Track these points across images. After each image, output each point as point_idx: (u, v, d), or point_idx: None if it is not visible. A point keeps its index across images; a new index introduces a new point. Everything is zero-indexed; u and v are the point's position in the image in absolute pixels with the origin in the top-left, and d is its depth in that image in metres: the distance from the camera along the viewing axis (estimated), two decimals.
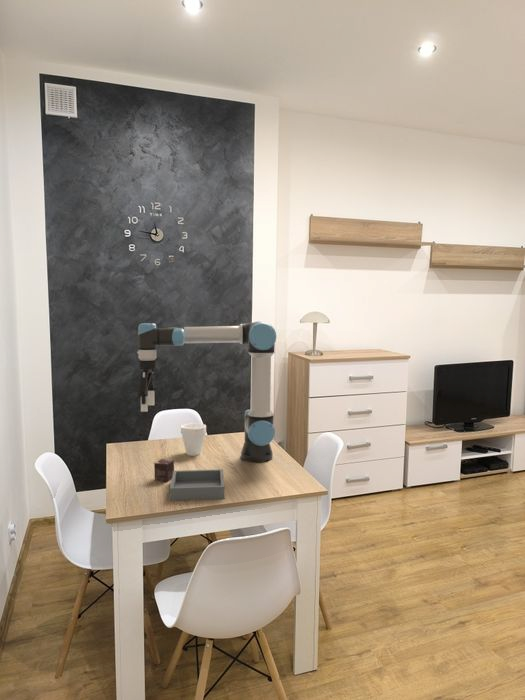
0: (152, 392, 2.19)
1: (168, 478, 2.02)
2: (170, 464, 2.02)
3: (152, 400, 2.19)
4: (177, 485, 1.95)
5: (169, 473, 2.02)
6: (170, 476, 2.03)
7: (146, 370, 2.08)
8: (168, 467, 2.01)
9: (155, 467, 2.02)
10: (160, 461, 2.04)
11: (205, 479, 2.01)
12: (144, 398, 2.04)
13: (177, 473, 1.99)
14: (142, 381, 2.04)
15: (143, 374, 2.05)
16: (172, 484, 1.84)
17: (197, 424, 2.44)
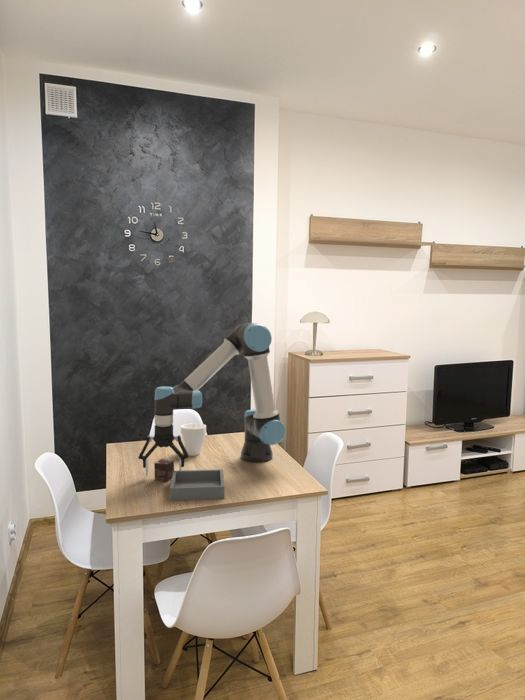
0: None
1: (168, 478, 2.02)
2: (170, 464, 2.02)
3: (179, 469, 2.04)
4: (177, 485, 1.95)
5: (169, 473, 2.02)
6: (170, 476, 2.03)
7: (154, 435, 2.02)
8: (168, 467, 2.01)
9: (155, 467, 2.02)
10: (160, 461, 2.04)
11: (205, 479, 2.01)
12: (143, 461, 2.02)
13: (177, 473, 1.99)
14: None
15: (147, 437, 2.02)
16: (172, 484, 1.84)
17: (197, 424, 2.44)
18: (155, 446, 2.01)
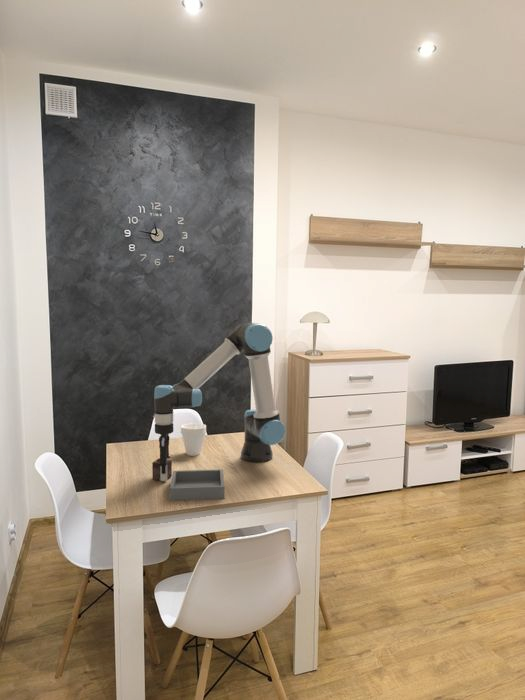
0: None
1: (167, 477, 2.02)
2: (168, 463, 2.03)
3: None
4: (177, 485, 1.95)
5: (167, 472, 2.02)
6: (168, 475, 2.03)
7: (164, 435, 1.99)
8: None
9: (153, 466, 2.02)
10: (158, 460, 2.04)
11: (205, 479, 2.01)
12: (164, 468, 1.98)
13: (177, 473, 1.99)
14: (161, 450, 1.96)
15: (162, 443, 1.96)
16: (172, 484, 1.84)
17: (197, 424, 2.44)
18: (168, 446, 2.01)
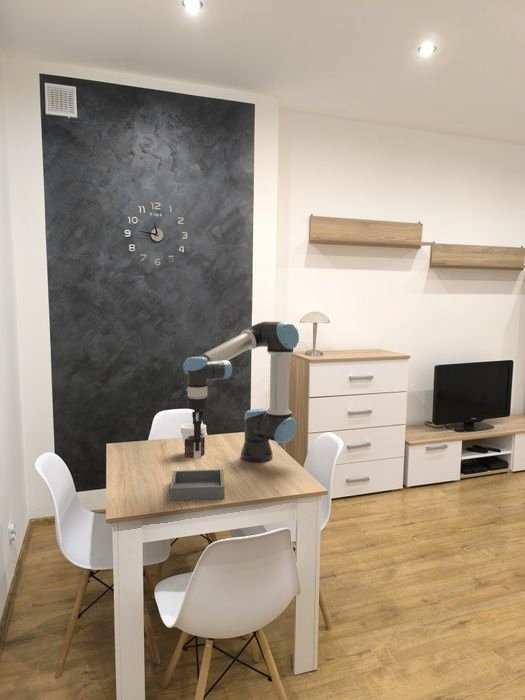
0: None
1: None
2: (201, 440, 1.89)
3: None
4: (177, 485, 1.95)
5: None
6: (201, 453, 1.89)
7: (198, 410, 1.86)
8: None
9: (185, 443, 1.88)
10: (190, 437, 1.90)
11: (205, 479, 2.01)
12: (198, 444, 1.85)
13: (177, 473, 1.99)
14: (195, 426, 1.83)
15: (196, 418, 1.83)
16: (172, 484, 1.84)
17: None
18: (201, 422, 1.87)
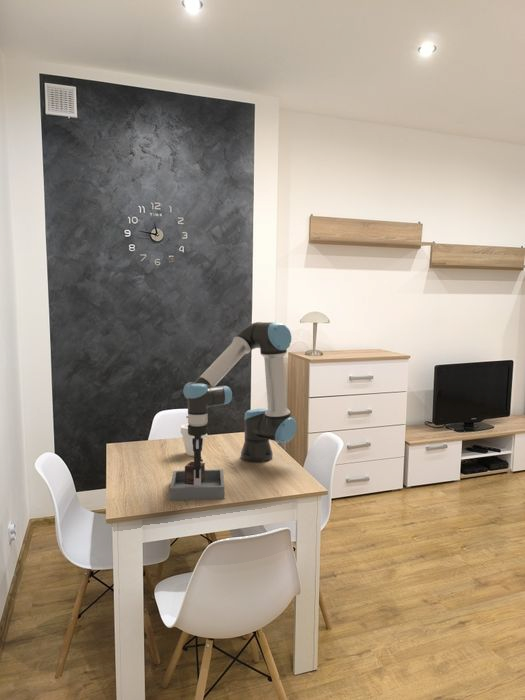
0: None
1: None
2: (201, 467, 1.90)
3: None
4: (177, 485, 1.95)
5: None
6: (201, 480, 1.90)
7: (198, 437, 1.86)
8: None
9: (186, 470, 1.89)
10: (191, 464, 1.91)
11: (205, 479, 2.01)
12: (198, 472, 1.86)
13: (177, 473, 1.99)
14: (196, 453, 1.84)
15: (196, 446, 1.84)
16: (172, 484, 1.84)
17: None
18: (201, 449, 1.88)
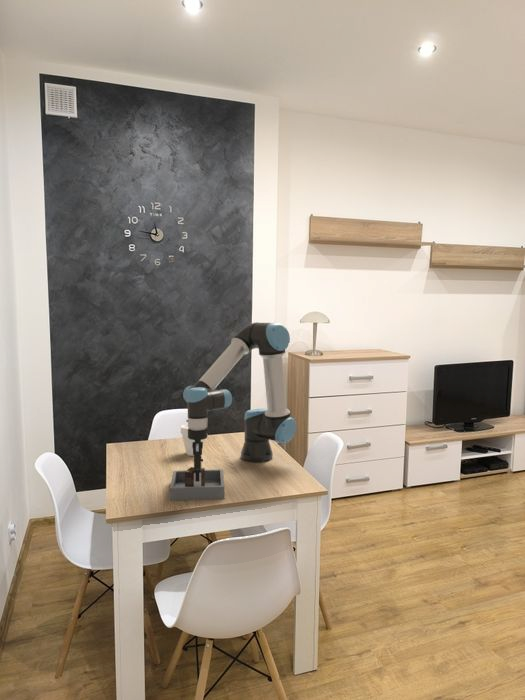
0: None
1: None
2: (201, 472, 1.90)
3: None
4: (177, 485, 1.95)
5: (201, 482, 1.90)
6: (201, 485, 1.91)
7: (198, 441, 1.86)
8: None
9: (186, 476, 1.89)
10: (191, 469, 1.92)
11: (205, 479, 2.01)
12: (198, 475, 1.84)
13: (177, 473, 1.99)
14: (196, 456, 1.83)
15: (196, 448, 1.84)
16: (172, 484, 1.84)
17: None
18: None
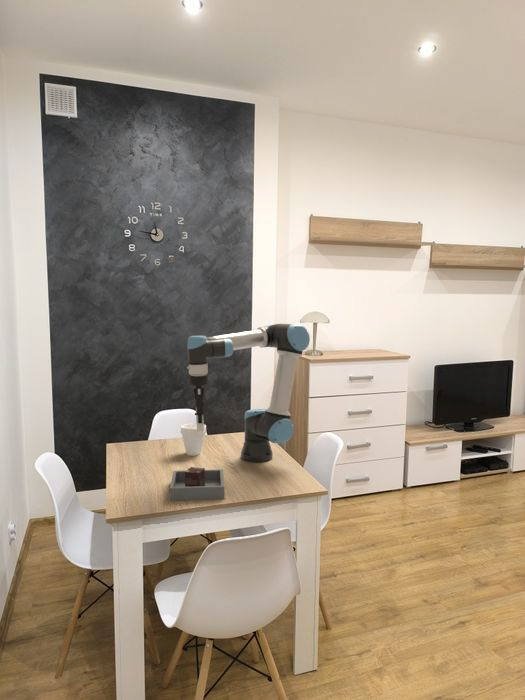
0: None
1: None
2: (201, 472, 1.90)
3: None
4: (177, 485, 1.95)
5: (201, 482, 1.90)
6: (201, 485, 1.91)
7: (199, 386, 1.93)
8: (200, 476, 1.89)
9: (186, 476, 1.89)
10: (191, 469, 1.92)
11: (205, 479, 2.01)
12: (201, 417, 1.90)
13: (177, 473, 1.99)
14: (198, 398, 1.90)
15: (198, 391, 1.90)
16: (172, 484, 1.84)
17: None
18: (203, 397, 1.94)
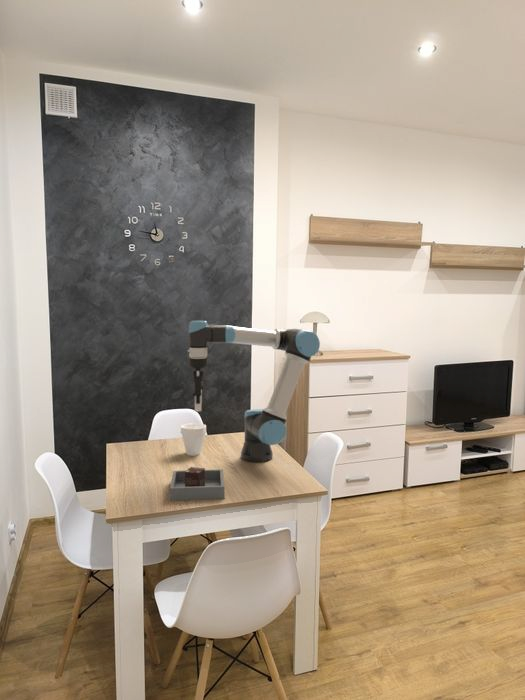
0: (200, 391, 2.13)
1: None
2: (201, 472, 1.90)
3: None
4: (177, 485, 1.95)
5: (201, 482, 1.90)
6: (201, 485, 1.91)
7: (199, 369, 2.02)
8: (200, 476, 1.89)
9: (186, 476, 1.89)
10: (191, 469, 1.92)
11: (205, 479, 2.01)
12: (199, 397, 1.99)
13: (177, 473, 1.99)
14: (196, 380, 1.99)
15: (197, 373, 1.99)
16: (172, 484, 1.84)
17: (197, 424, 2.44)
18: None
